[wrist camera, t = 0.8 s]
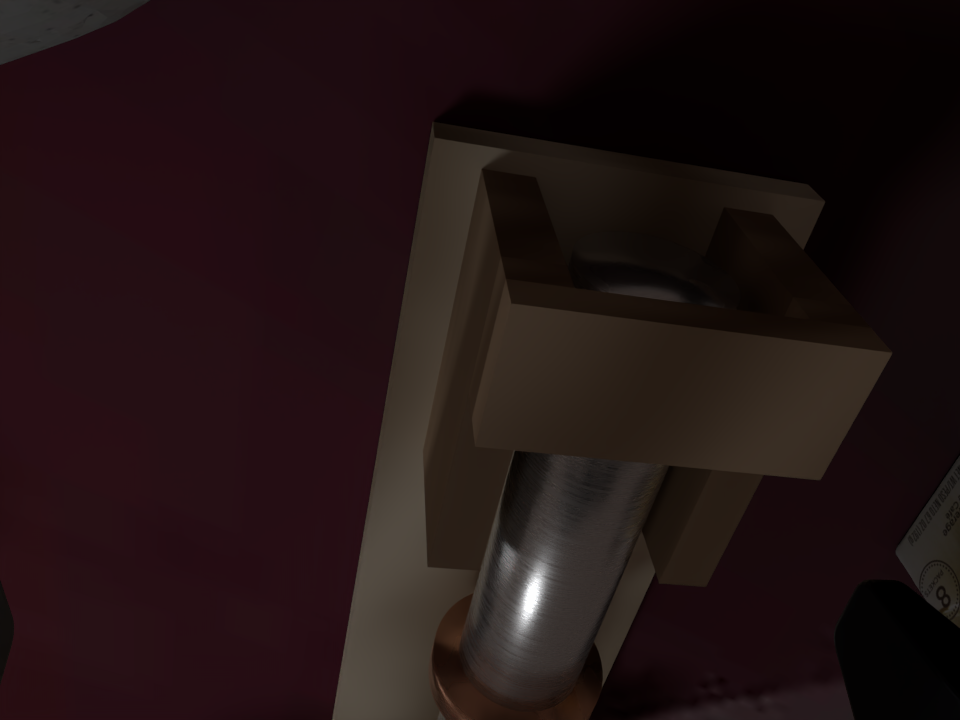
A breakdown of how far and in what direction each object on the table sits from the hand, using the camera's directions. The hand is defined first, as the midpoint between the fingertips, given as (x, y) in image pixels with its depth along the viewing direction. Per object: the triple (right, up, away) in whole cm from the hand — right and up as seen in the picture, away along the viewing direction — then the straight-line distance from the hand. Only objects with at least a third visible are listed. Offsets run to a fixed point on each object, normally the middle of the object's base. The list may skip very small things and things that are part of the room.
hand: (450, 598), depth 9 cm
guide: (+1, -4, +18) cm, 18 cm away
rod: (+2, -2, +15) cm, 15 cm away
